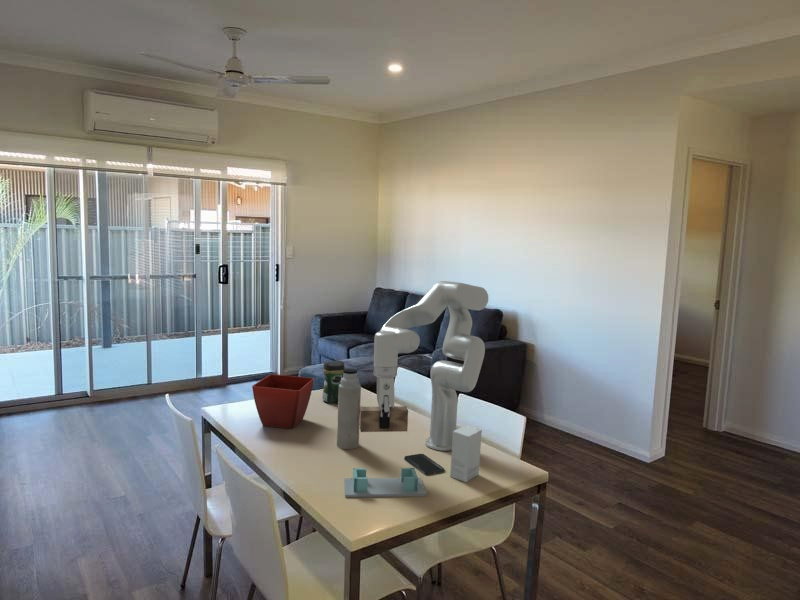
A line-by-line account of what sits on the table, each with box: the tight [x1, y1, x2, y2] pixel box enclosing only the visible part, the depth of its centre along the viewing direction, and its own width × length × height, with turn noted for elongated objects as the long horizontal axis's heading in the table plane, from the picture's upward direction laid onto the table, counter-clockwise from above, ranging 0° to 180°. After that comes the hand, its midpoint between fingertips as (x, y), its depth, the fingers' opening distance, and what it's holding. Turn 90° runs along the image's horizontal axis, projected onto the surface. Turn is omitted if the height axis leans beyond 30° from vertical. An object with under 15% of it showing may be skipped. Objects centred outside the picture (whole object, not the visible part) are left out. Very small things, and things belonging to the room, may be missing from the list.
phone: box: [404, 453, 445, 476], centre depth 188 cm, size 8×1×15 cm
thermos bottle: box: [336, 368, 362, 450], centre depth 201 cm, size 8×8×28 cm
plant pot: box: [251, 373, 315, 430], centre depth 222 cm, size 19×19×17 cm
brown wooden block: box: [359, 405, 409, 433], centre depth 179 cm, size 15×4×7 cm, turn 97°
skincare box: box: [449, 424, 483, 483], centre depth 180 cm, size 8×7×16 cm
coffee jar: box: [322, 360, 346, 404], centre depth 254 cm, size 10×8×19 cm
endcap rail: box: [343, 467, 427, 498], centre depth 169 cm, size 24×11×5 cm, turn 97°
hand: (383, 425), depth 180 cm, fingers closed on brown wooden block, 4 cm apart
